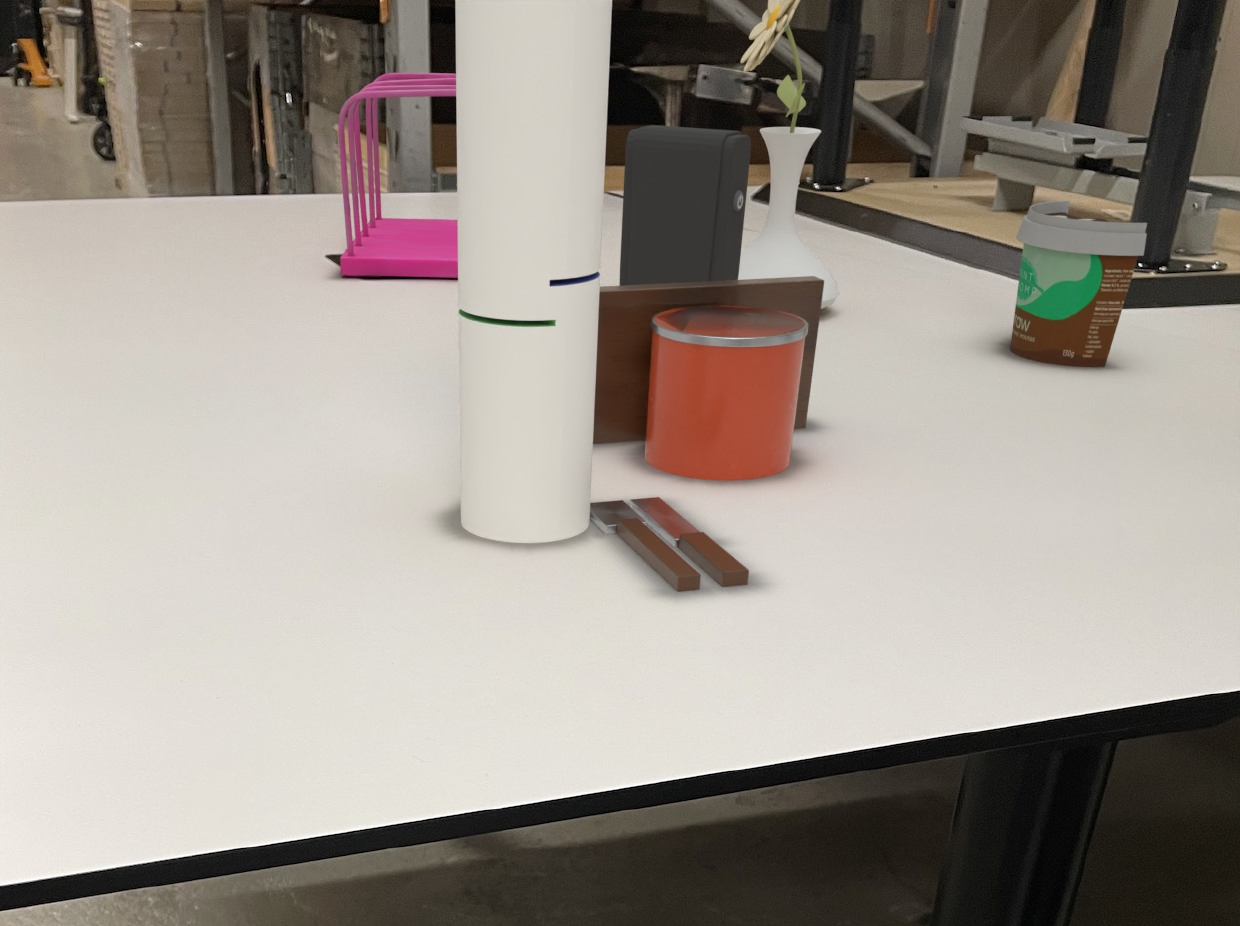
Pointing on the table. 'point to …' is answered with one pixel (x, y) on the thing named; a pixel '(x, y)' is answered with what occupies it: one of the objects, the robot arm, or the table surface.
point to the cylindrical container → (529, 260)
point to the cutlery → (676, 532)
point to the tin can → (723, 391)
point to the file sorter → (381, 239)
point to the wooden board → (631, 340)
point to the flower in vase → (783, 170)
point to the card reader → (683, 205)
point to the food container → (1072, 285)
